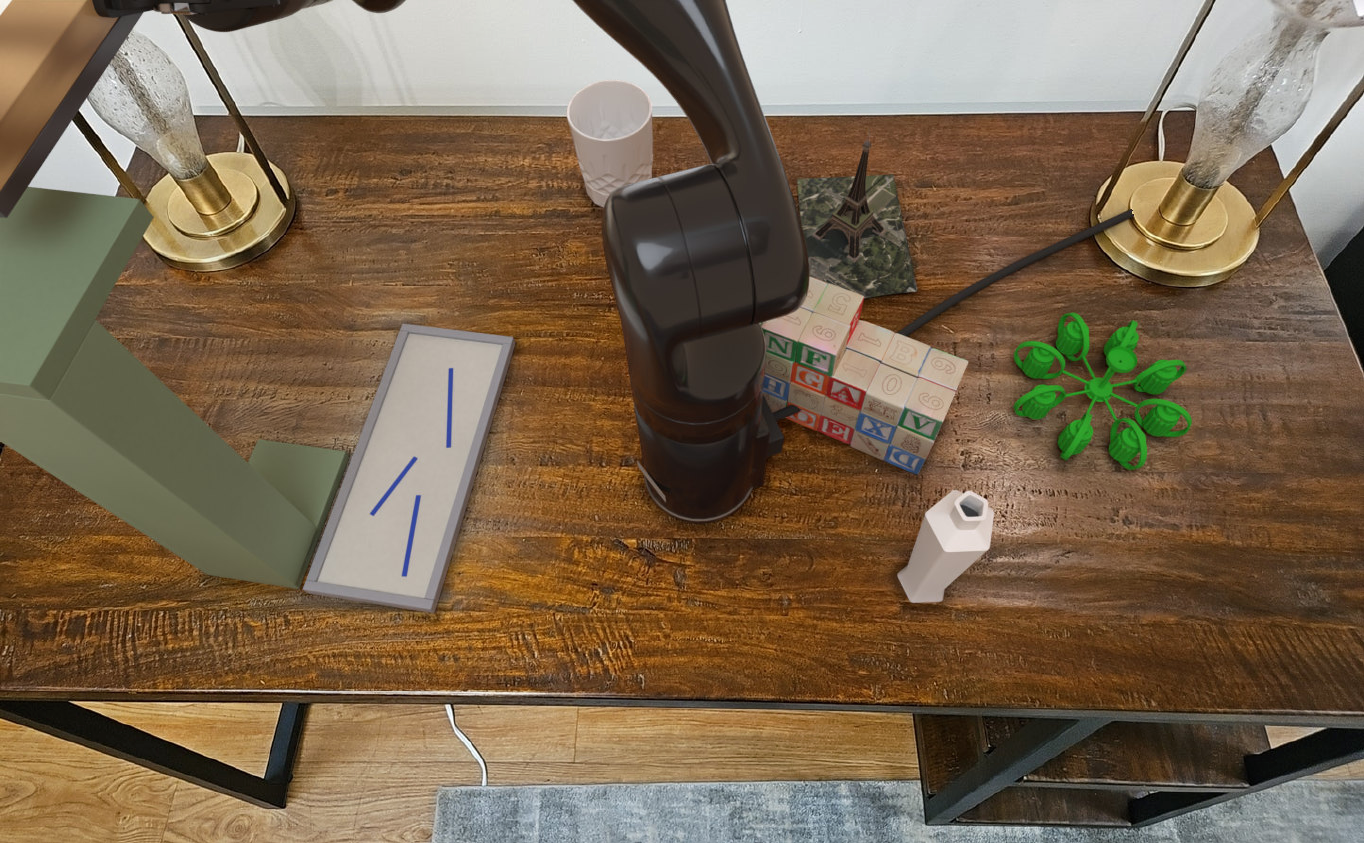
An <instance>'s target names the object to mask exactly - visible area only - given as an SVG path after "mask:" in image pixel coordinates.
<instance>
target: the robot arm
mask: <svg viewBox="0 0 1364 843" xmlns="http://www.w3.org/2000/svg"><path fill="white" fill-rule="evenodd" d="M333 1H334V0H92V2H93V5H94V9H95V11H96V13H97V14H98V15H99V16H101V17H108V18H117V17H122V16H127V15H132V14H137V13H142V12H144V13H146V12H151V11H152V12H155V13H156V12H157V13H161V14H162V15H181V16H182V17H184V19H186V20H187V21H189V22H191V23H192V24H194V25H196V26H198V27H199V28H202V29H204V30H208V31H211V32H216V33H230V32H236V31H239V30H245V29H247V28H252V27H256V26H259V25H263V24H266V23H269V22H270V23H271V22H273V21H278V20H282V19H286V18H288V17H290V16H293V15H294V14H297V13H298V12H300V11H302V10H305V9H309V8H313V7H317V6H320V5H325V4H327V3H330V2H333ZM351 1H352V2H353V3H355V4H356V6H358V7H360V8H361V9H362V10H364V11H367V12H369V13H372V14H385V13H389V12H392V11H394V10H396V9H398V8H400V7H401V6H402V5H403V4H404V3H405V2H406V1H407V0H351ZM571 1H572V2H573V3H574V4H575V5H576V7H578V8H579V10H580V11H581V12H583V13H584V14H585V15H586V16H587V17H588V18H589V19H590V20H591V21H592V22H593V23H594V24H595V25H596V26H597V27H598V28H600V29H601V30H602V31H603V32H604V33H605V34H607V36H609V37H610V38H611V39H612V40H613V41H614V42H616V43H617V44H618V45H619V46H620V47H621V48H622V49H623V50H624V51H626V52H627V53H628V54H629V55H631V56H632V57H633V58H634V59H635V60H636V61H637V62H638V63H639V64H641V65H642V66H643V67H644V68H645V69H646V70H647V71H648V72H649V73H650V74H651V75H652V76H653V77H654V78H656V80H657V81H658V82H659V83H660V84H661V85H662V87H664V89H665V90H666V91H667V92H668V93H669V95H671V97H672V98H673V100H674V101H675V102H676V103H677V105H678V106H679V107H680V109H681V110H682V112H683V113H684V115H685V116H686V118H687V119H688V121H689V123H690V124H691V126H692V128H693V130H694V132H695V133H696V135H697V137H698V139H699V141H700V142H701V145H702V147H703V149H704V151H705V153H706V155H707V157H708V160H709V162H710V164H705V165H700V166H695V167H692V168H688V169H684V170H680V171H676V172H671V173H668V174H667V173H666V174H664V175H663V174H662V175H659V176H656V177H652V178H651V179H647V180H643V181H639V182H635V183H631V184H628V185H624V186H621V187H619V188H617V189H615V190H614V191H613V192H612V193H611V194H610V195H609V197H608V198H607V200H606V202H605V205H604V208H602V215H601V240H602V241H601V242H602V248H603V254H604V260H605V264H606V269H607V274H608V276H609V281H610V284H611V288H612V292H613V297H614V301H615V303H616V304H615V305H616V308H617V311H618V315H619V319H620V326H621V330H622V336H623V337H622V338H623V342H624V349H625V355H626V362H627V369H628V370H627V371H628V377H629V381H630V389H631V395H632V402H633V408H634V413H635V420H636V426H637V432H638V439H639V440H638V441H639V446H640V453H641V458H642V460H641V461H642V464H641V463H640V462H639V460H636V463H637V468H638V469H639V470H640V471H641V473H642V474H643V480H644V484H645V485H644V486H645V487H646V491H647V494H648V495H649V497H650V499H651V500H652V501H653V503H654V504H655V505H656V506H657V507H658V509H660V510H661V511H662V512H663V513H664V514H666V515H667V516H669V517H671V518H673V519H675V520H677V521H680V522H683V523H687V524H695V525H697V524H698V525H707V524H712V523H716V522H720V521H722V520H725V519H727V518H728V517H731V516H732V515H734V514H735V513H736V512H737V511H739V510H740V509H741V508H742V507H743V506H744V505H745V504H746V503H747V501H748V499H749V498H750V496H751V494H752V493H753V491H754V490H756V489H758V488H761V487H763V486H764V484H765V477H766V476H765V475H766V469H767V467H766V466H767V460H768V458H770V457H772V456H775V455H779V454H781V453H783V447H784V441H785V436H784V434H783V432H782V430H781V427H780V426H779V424H778V422H779V421H781V420H784V419H787V418H786V417H788V416H791V415H793V414H795V413H798V412H800V411H801V409H800V408H798V407H797V406H795V405H790V406H787V407H785V408H783V409H780V410H778V411H775V412H773V413H772V411H771V409H770V407H769V405H768V403H767V401H766V399H765V397H764V395H763V386H764V376H765V367H766V354H767V350H766V340H765V336H764V333H763V330H762V328H761V326H760V324H759V323H762V322H765V321H769V320H773V319H776V318H780V317H784V316H786V315H789V314H791V313H793V312H795V311H797V310H798V309H799V308H800V307H801V306H802V305H803V303H804V301H805V299H806V297H807V294H808V289H809V277H810V269H809V260H808V252H807V246H806V241H805V236H804V232H803V228H802V222H801V216H800V212H799V211H798V210H799V209H798V207H797V202H796V200H795V197H794V194H793V191H792V189H791V186H790V182H789V179H788V176H787V174H786V171H785V168H784V166H783V163H782V162H783V161H782V160H781V157H780V154H779V152H778V149H777V146H776V143H775V141H774V138H773V135H772V133H771V130H770V126H769V124H768V122H767V119H766V116H765V113H764V110H763V108H762V105H761V102H760V100H759V97H758V94H757V92H756V88H755V86H754V84H753V80H752V78H751V76H750V73H749V69H748V66H747V64H746V61H745V58H744V55H743V52H742V50H741V45H740V43H739V40H738V37H737V34H736V31H735V28H734V23H733V21H732V18H731V13H730V11H729V7H728V3H727V0H571ZM1132 211H1133V210H1132V209H1131V208H1130V209H1127V210H1125V211H1123V212H1121V213H1119V214H1117V215H1115V216H1113V217H1110V218H1108V219H1106V220H1104V221H1101V222H1099V223H1097V224H1095V225H1093V226H1090V227H1088V228H1086V229H1084V230H1082V231H1079V232H1077V233H1075V234H1073V235H1071V236H1069V237H1066V238H1064V239H1062V240H1060V241H1057V242H1055V243H1053V244H1050V245H1049V246H1046V247H1044V248H1042V249H1040V250H1037V251H1035V252H1034V253H1031V254H1029V255H1026V256H1025V257H1023V258H1021V259H1018V260H1017V261H1015V262H1012V263H1011V264H1009V265H1007V266H1005V267H1003V268H1001V269H999V270H997V271H995V272H993V273H991V274H989V275H988V276H985V277H984V278H982V279H980V280H978V281H976V282H974V283H972V284H971V285H969V286H967V287H966V288H964V289H962V290H961V291H959V292H956V293H955V294H953V295H952V296H950V297H949V298H947V299H945V300H944V301H942V302H940V303H939V304H936V306H934V307H932V308H931V309H930V310H928V311H926V312H925V313H923V314H922V315H921V316H919V317H917V318H916V319H914V320H913V321H911V322H910V323H909V324H907V325H906V326H905V327H903V328H902V329H900V330H899V331H897V333H898V334H901V335H903V336H906V337H908V336H910V335H911V334H912V333H914V332H915V331H917V330H918V329H920V328H922V327H923V326H924V325H925V324H927V323H929V322H930V321H932V320H933V319H934V318H937V317H938V316H939V315H941V314H942V313H944V312H946V311H948V310H949V309H951V308H952V307H954V306H956V305H957V304H959V303H960V302H962V301H964V300H965V299H967V298H969V297H971V296H972V295H974V294H976V293H978V292H980V291H981V290H983V289H986V288H987V287H988V286H990V285H993V284H994V283H996V282H999V281H1000V280H1002V279H1004V278H1006V277H1008V276H1010V275H1013V274H1014V273H1016V272H1017V271H1020V270H1022V269H1024V268H1025V267H1028V266H1030V265H1031V264H1034V263H1036V262H1038V261H1040V260H1042V259H1046V258H1047V257H1049V256H1051V255H1054V254H1056V253H1058V252H1060V251H1062V250H1065V249H1066V248H1069V247H1071V246H1072V245H1075V244H1077V243H1080V242H1082V241H1084V240H1086V239H1088V238H1090V237H1092V236H1095V235H1097V234H1099V233H1101V232H1104V231H1106V230H1108V229H1111V228H1112V227H1114V226H1117V225H1119V224H1121V223H1123V222H1125V221H1127V220H1130V219H1132V218H1133V216H1134V214H1132ZM1134 217H1135V216H1134Z"/></svg>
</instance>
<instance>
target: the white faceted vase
mask: <svg viewBox="0 0 1364 843" xmlns="http://www.w3.org/2000/svg"><path fill="white" fill-rule="evenodd" d="M994 518H995V511H994V510H993V509H992V508H991V507H989V500H988V499H987V498H985V497H983V496H981V495H980V494H977V493H976V492H974V491H972V490H966V491H964V492H962V491H960V490H957V489H952V490H951V491H950V492H948V494H947V495H945V496H944V497H942V499H940V500H939V501H938V502H937V503H935V504H934V505H933V506H931V507H930V508H929V509H928V510H927V511H926V512H925V513H924V517H923V519H922V522H921V525H920V528H919V531H918V533H917V537H916V538H915V543H914V546H913V549H912V551H911V554H910V557H909V559H908V563H907V565H906V566H904V567H903V568H902V569H901V570H900V571H898V572H897V578H898V581H899V582H900V584H901V587H902V588H903V591H904V593H905V595H906V597H907V598H908V599H907V600H908V601H909V602H910V603H912V604H916V603H917V604H918V603H919V604H920V603H922V604H923V603H939V602H943V600H944V596H945V589H947V587H948V586H951V584H952V583H954V581H955V580H956V579H958V578H959V577H960V576H961V575H962V574H963V573H964V572H965V571H966V570H968V568H970V567H971V566H972V565H973V564H974V563H976V561H978V560H979V559H980V558H981V557H982V556H983V555H984V554H985V553H987V552H988V550H990V548H991V540H992V532H993V526H994Z"/></svg>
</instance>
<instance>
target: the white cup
mask: <svg viewBox="0 0 1364 843" xmlns="http://www.w3.org/2000/svg"><path fill="white" fill-rule="evenodd" d="M566 119H567V122H568V128H569V131H570V135H571V138H572V144H573V148H574V151H575V156H576V159H577V162H578V166H579V170H580V173H581V175H582V178H583V182H584V187H585V191H586V195H587V196H588V197H589V198H590V199H591V201H592V202H593V203H594V204H595V205H597V206H599V207H601V208H602V209H604V205H605V202H606V200H607V198H608V197H609V195H610V194H611V193H612V192H613V191H614V190H615V189H617V188H619V187H621V186H624V185H628V184H631V183H635V182H639V181H643V180H647V179H651V178H653V163H654V162H653V161H654V134H653V133H654V132H653V131H654V130H653V128H654V127H653V104H652V100H651V98H650V97H649V94H648V93H647V92H646V91H645V90H643V88H642V87H640V86H639V85H636V84H635V83H632V82H630V81H626V80H621V79H604V80H598V81H595V82H593V83H592V82H591V83H589V84H587V85H585V86H584V87H581V88H580V89H579V90H577V92H576V93H574V94H573V96H572V97H571V98H570V100H569V101H568V103H567V107H566Z"/></svg>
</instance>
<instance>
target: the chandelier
mask: <svg viewBox="0 0 1364 843" xmlns="http://www.w3.org/2000/svg"><path fill="white" fill-rule="evenodd" d="M1069 317H1071V318H1072V319H1073V320H1072V321H1070V322H1069V323H1068V324H1067V325H1065V323H1066V321H1067V319H1068V318H1069ZM1138 324H1139V322H1138V321H1136V320H1133V319H1132V320H1129V323H1128V324H1127V325H1126V326H1121V327H1119V328H1118V329H1117V330H1115V331H1114V332H1113V333H1112V334H1111V335H1110V337H1109V338H1108V340H1107V341H1106V343H1105V344H1104V347H1103V353H1104V355H1105V361H1106V363H1105V364H1106V365H1107V366H1108V367H1107V370H1106V371H1105V373H1104V376H1103V377H1096V375H1095V373H1094V371H1093V369H1092V368H1091V365H1090V363H1089V361H1088V359H1087V356H1088V353H1089V350H1090V335H1089V334H1090V328H1089V326H1088V325H1087V324H1086V322H1085V320H1084V319H1083V317H1082V316H1081V315H1079V314H1078V313H1076V312H1067V313H1064V314H1063V315H1062V316H1060V318H1059V321H1058V324H1057V339H1056V341H1055V347H1056V348H1057V349H1056V348H1055V347H1054V346H1052V345H1050V344H1048V343H1045V342H1042V341H1038V340H1026V341H1024V342H1021V343H1019V344H1018V346H1017V347H1016V349H1015V350H1014V353H1013V359H1014V362H1015V364H1016V366H1017V367H1018V368H1019V369H1020V370H1022V371H1023V373H1024V374H1025V375H1026V376H1027V377H1029V378H1030V379H1036V380H1037V379H1042V380H1053V379H1056V378H1058V377H1060V376H1061V375H1062V374H1064V375H1065V376H1068V377H1070V378H1072V379H1075V380H1076V381H1079V382H1081V383H1083V384H1085V385H1084V390H1080V391H1075V392H1070V393H1069V392H1068V393H1066V391H1065V389H1064V387H1063V386H1062V385H1058V384H1051V385H1047V384H1038V385H1036V386H1034V387H1033V388H1032V389H1031V390H1030V391H1029V392H1027V393H1025V394H1024V395H1022V396H1021V397H1019V398H1018V399H1017V400H1016V401H1015V402H1014V404H1013V410H1014V413H1015V415H1016V416H1018V417H1022V418H1023V417H1024V418H1026V417H1027V418H1028V419H1030V420H1041V419H1043V418H1046V416H1048V414H1049V412H1050V411H1051V410H1052V409H1054V408H1056V407H1058V406H1059V405H1060V404H1061V403H1062V402H1063V401H1064V400H1065V399H1066V398H1069V397H1075V396H1079V395H1083V394H1086V395H1087V397H1088V398H1089V399H1091V402H1090V403H1089V405H1088V408H1087V410H1086V412H1084V414H1083V415H1082V417H1081V418H1080V419H1075V420H1073V421H1072V422H1070V423H1068V424H1067V426H1066V427H1064V429H1063V430H1062V432H1060V434H1059V435H1058V436H1057V438H1058V439H1057V445H1058V448H1059V449H1060V450H1061V453H1060V456H1059V458H1060V459H1062V460H1063V461H1068V460H1069V459H1070V458H1071V456H1074V455H1078V454H1081V453H1082V452H1083V450H1084V449H1085V448H1086V447H1087V446H1088V445H1089V443H1091V441H1092V438H1093V435H1094V429H1093V428H1094V427H1093V426H1092V425H1091V421H1092V419H1093V414H1091V411H1092V409H1093V407H1094V405H1095V403H1096V402H1098V403H1105V405H1106V408H1107V410H1108V411H1109V413H1110V415H1111V416H1112V419H1113V421H1114V422H1113V423H1112V424H1111V427H1110V431H1109V440H1110V442H1109V445H1108V453H1109V455H1110V457H1111V458H1113V459H1114V460H1115V461H1117V462H1118V463H1119V464H1120V465H1121V466H1122V468H1124V469H1127V470H1130V471H1133V470H1139V469H1140V468H1142V467H1144V465H1145V464H1146V461H1147V458H1148V446H1147V436H1146V434H1145V433H1144V431H1145V432H1146V433H1147V434H1149V435H1151V436H1153V437H1166V438H1178V437H1182V436H1184V435H1186V434H1187V433H1188V432H1189V431H1190V430H1191V427H1192V424H1193V419H1192V417H1191V414H1190V412H1188V411H1187V409H1185V408H1183V406H1181V405H1179V404H1177V403H1175V402H1173V401H1170V400H1167V399H1162V398H1148V399H1145V400H1142V401H1141V402H1139V403H1138V404H1137V403H1135V402H1133V401H1132V400H1128V399H1126V398H1124V397H1122V396H1120V395H1118V394H1116V393H1113V388H1117V387H1121V386H1127V385H1131V384H1132V387H1133V388H1134V390H1135V391H1136V392H1139V393H1147V394H1149V395H1154V396H1156V395H1160V394H1162V393H1164V392H1165V391H1166V389H1168V387H1169V386H1171V384H1172V383H1174V382H1175V381H1177V380H1179V379H1180V378H1181V377H1183V375H1184V374H1185V373H1186V371H1187V366H1186V364H1185V362H1184V360H1181V359H1171V360H1167V359H1158V360H1156V362H1154V363H1151V364H1150V365H1149V367H1148V368H1146V369H1144V370H1143V371H1141V372H1140V373H1139V374H1137V376H1135V378H1134V379H1131V380H1127V381H1123V382H1117V383H1113V384H1112V383H1111V382H1110V380H1111V379H1112V378H1113V376H1114V375H1115V374H1116V373H1120V374H1128V373H1130V372H1132V371H1133V370H1134V369H1135V368H1136V366H1137V365H1138V357H1137V354H1136V353H1135V352H1134V350H1135V349H1136V347H1137V346H1138V342H1139V339H1140V337H1139V333H1138V331H1136V330H1137V328H1138ZM1027 347H1033V348H1031V349H1030V350H1029V352H1028V353H1027V355H1026V356H1025V359H1024V360H1023V361H1022V360H1021V358H1020V356H1019V351H1020V350H1021V349H1023V348H1027ZM1080 351H1081V353H1080V354H1079V356H1078V357H1076V356H1074V355H1076V354H1078V353H1079V352H1080ZM1064 356H1065V358H1067V359H1068V360H1069V361H1071V362H1079V361H1083V362H1084V364H1085V366H1086V368H1087V370H1088V373H1089V374H1090V376H1091V379H1090V380H1085V379H1084V378H1082V377H1079V376H1077V375H1076V374H1073V373H1071V372H1068V371H1067V370H1064V369H1066V359H1065V358H1064ZM1055 358H1056V359H1057V361H1058V362H1059V364H1060V370H1059V371H1056V372H1053V373H1048V372H1049V370H1051V367H1052V366H1053V363H1054V362H1055ZM1177 367H1180V368H1179V369H1177ZM1056 392H1060V394H1059V395H1058V396H1057V395H1056ZM1112 397H1113V398H1115V399H1117V400H1120V401H1121V402H1124V403H1126V404H1128V405H1130V406H1132V407H1135V410H1134V414H1133V415H1134V419H1135V420H1133V419H1131V418H1129V417H1123V418H1118V417H1117V416H1116V414H1115V412H1114V410H1113V408H1112V405H1111V404H1110V403H1109V400H1110V399H1111V398H1112ZM1151 405H1153V407H1152V408H1151V409H1150V410H1149V411H1148V412H1147V414H1145V416H1144V418H1142V416H1141V414H1140V409H1141V408H1143V407H1146V406H1151ZM1021 406H1022V408H1021V409H1022V410H1019V409H1020V407H1021ZM1181 416H1182V417H1183V418H1184V420H1185V421H1186V424H1187V426H1186V427H1185V428H1182V429H1181V430H1174V431H1171V430H1173V429H1174V428H1175V426H1177V424H1178V422H1179V420H1180V418H1181ZM1136 422H1137V423H1136ZM1121 423H1125V424H1127V425H1128V426H1129V427H1126V428H1125V429H1122V430H1120V432H1118V428H1119V426H1120V424H1121ZM1142 428H1143V429H1144V431H1143V430H1142ZM1138 455H1139V459H1138V462H1137V464H1136V465H1132V464H1130V462H1131V461H1132V460H1133V459H1135V458H1136V457H1137V456H1138Z"/></svg>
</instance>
